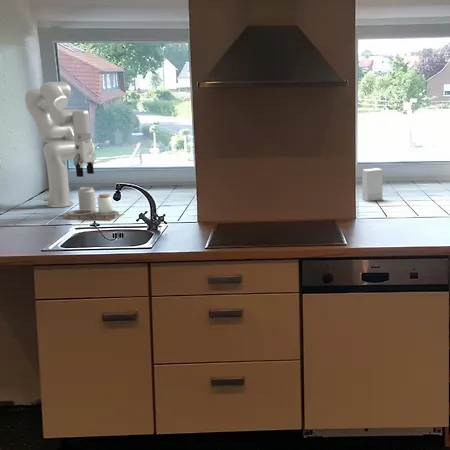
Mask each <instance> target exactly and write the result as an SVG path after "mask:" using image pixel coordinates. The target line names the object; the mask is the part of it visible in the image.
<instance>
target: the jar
mask: <svg viewBox="0 0 450 450" xmlns="http://www.w3.org/2000/svg"><path fill="white" fill-rule="evenodd" d="M112 197H113V196H112V195H111V194H110V193H102V194H98V197H97V205H98V206H97V208H98V211H99V214H112V213H113V211H114V210H113V200H112V199H113V198H112Z"/></svg>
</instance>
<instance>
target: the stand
mask: <svg viewBox="0 0 450 450" xmlns="http://www.w3.org/2000/svg"><path fill="white" fill-rule="evenodd" d="M124 215H125V214H124V213H120V212H119V211H117V210H113V213H112V214H99V210H96V211H95V210H91V209H81V210H80V209H74V210H73V209H72V210H70V211H67V212H66V215H65V216H62V217H60V218H59V220H60V221H61V220H63V221H64V220H66V221H68V220H69V221H94V222H95V221H97V222H111V221H113V220H115V219H118V218H121V217H122V216H124Z"/></svg>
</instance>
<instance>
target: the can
mask: <svg viewBox="0 0 450 450" xmlns="http://www.w3.org/2000/svg"><path fill="white" fill-rule="evenodd" d="M77 195H78V207H79V209H78V210H81V209H91V210H95V211H96V212H97V205H96V192H95V189H94V187H92V186H84V187H83V186H82V187H79V188H78V193H77Z"/></svg>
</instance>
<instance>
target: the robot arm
mask: <svg viewBox="0 0 450 450" xmlns="http://www.w3.org/2000/svg"><path fill="white" fill-rule="evenodd" d="M71 95H72V89H71V86H70V85H69V84H68V83H67V82H65V81H47V82H44V83H43V84H41V85H40V87H39V88H32V89H29V90H27V91H26V93H25V95H24V101H25V102H24V103H25V106H26V108H27V112H29V115H30V116H31V118H32V119H33V120H34V122H35V125H36V127H37V131H38V133H39V135H40V138H41V140H42V141H43V142H45V143H46V144H45V145H44V147H43V154H44V159H45V162H46V170H47V178H48V179H47V180H48V190H49V193H48V194H49V196H44V198H43V202H47V203H46V204H47V207H48V208H65V207H67V208H68V207H70V206H73V205H74V201H72V200H71V199H70V187H69V185H70V184H69V175H68V174H69V173H68V168H67V166H66V165H65V164H64V163H63V161H70V160H72V161H73V163H74V167H75V172H76V173H75V175H76V177H77V178H78V177H79V178H80V177H81V178H83V177H84V167H83V164H86V173H87V174H88V175H90V174H91V175H93V174H94V173H95V171H94V164H95V163H94V161H95V154H94V153H95V152H94V147H93V142H92V135H91V123H90V113H89V112H90V111H89V110H87V109H80V108H79V109H78V108H76V109H66V108H67V106H68V104H69V99H70V98H71ZM47 106H49V107H48V110H47V109H46V108H44V107H47Z"/></svg>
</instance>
